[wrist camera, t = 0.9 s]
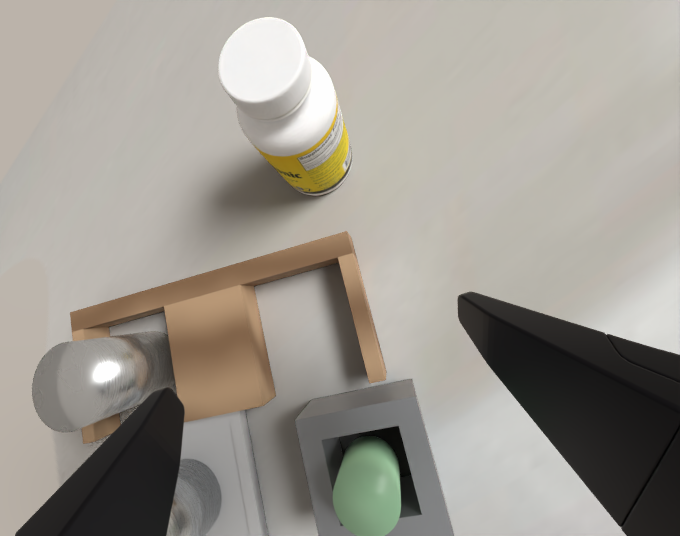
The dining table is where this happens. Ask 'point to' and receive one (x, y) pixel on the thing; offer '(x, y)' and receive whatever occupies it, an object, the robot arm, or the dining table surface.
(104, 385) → the seated steel billet
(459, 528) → the dining table surface
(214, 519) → the loose steel billet
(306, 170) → the supplement bottle
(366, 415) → the button housing
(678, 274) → the dining table surface
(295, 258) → the frame
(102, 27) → the dining table surface
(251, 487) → the tray
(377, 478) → the button
